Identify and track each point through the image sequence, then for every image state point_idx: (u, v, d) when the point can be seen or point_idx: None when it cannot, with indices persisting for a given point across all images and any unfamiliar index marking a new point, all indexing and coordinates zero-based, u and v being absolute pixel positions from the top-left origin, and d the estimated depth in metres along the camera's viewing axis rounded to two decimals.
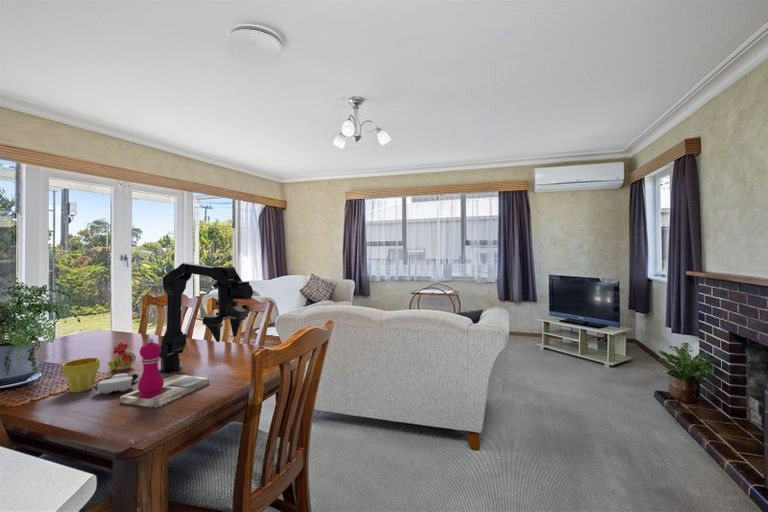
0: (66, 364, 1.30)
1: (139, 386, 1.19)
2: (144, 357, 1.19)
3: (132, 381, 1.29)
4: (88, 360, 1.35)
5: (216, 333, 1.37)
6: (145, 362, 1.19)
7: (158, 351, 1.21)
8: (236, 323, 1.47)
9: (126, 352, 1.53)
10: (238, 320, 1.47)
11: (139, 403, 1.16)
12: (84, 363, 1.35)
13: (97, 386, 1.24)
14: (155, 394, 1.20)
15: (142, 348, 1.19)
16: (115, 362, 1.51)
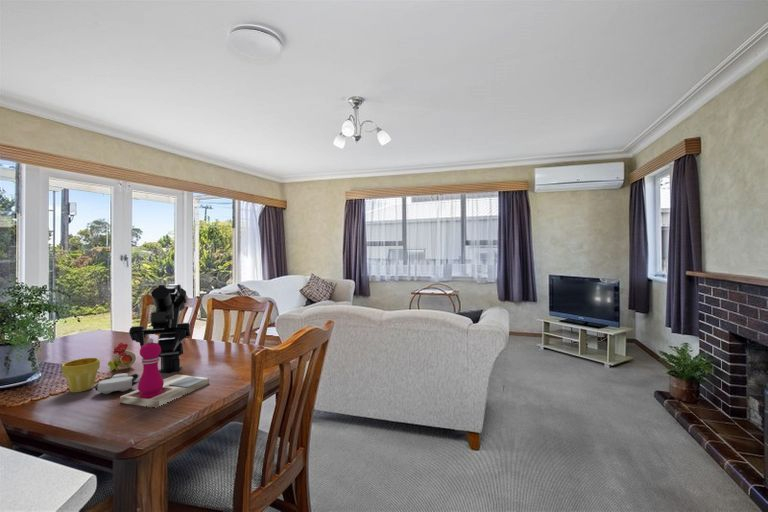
0: (66, 364, 1.30)
1: (139, 386, 1.19)
2: (144, 357, 1.19)
3: (132, 381, 1.29)
4: (88, 360, 1.35)
5: (140, 344, 1.29)
6: (145, 362, 1.19)
7: (158, 351, 1.21)
8: (175, 337, 1.34)
9: (126, 352, 1.53)
10: None
11: (139, 403, 1.16)
12: (84, 363, 1.35)
13: (97, 386, 1.24)
14: (155, 394, 1.20)
15: (142, 348, 1.19)
16: (115, 362, 1.51)
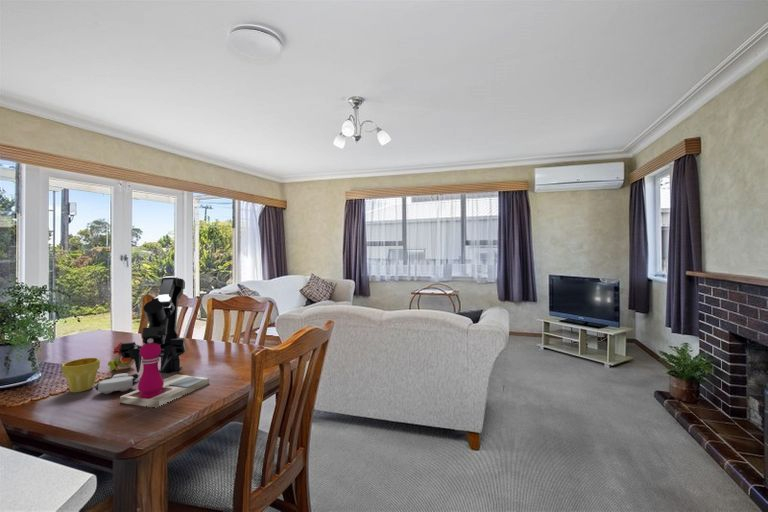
0: (66, 364, 1.30)
1: (139, 386, 1.19)
2: (144, 357, 1.19)
3: (133, 381, 1.29)
4: (88, 360, 1.35)
5: None
6: (145, 362, 1.19)
7: (158, 351, 1.21)
8: None
9: None
10: None
11: (139, 403, 1.16)
12: (84, 363, 1.35)
13: (98, 386, 1.24)
14: (155, 394, 1.20)
15: (142, 348, 1.19)
16: (115, 362, 1.51)
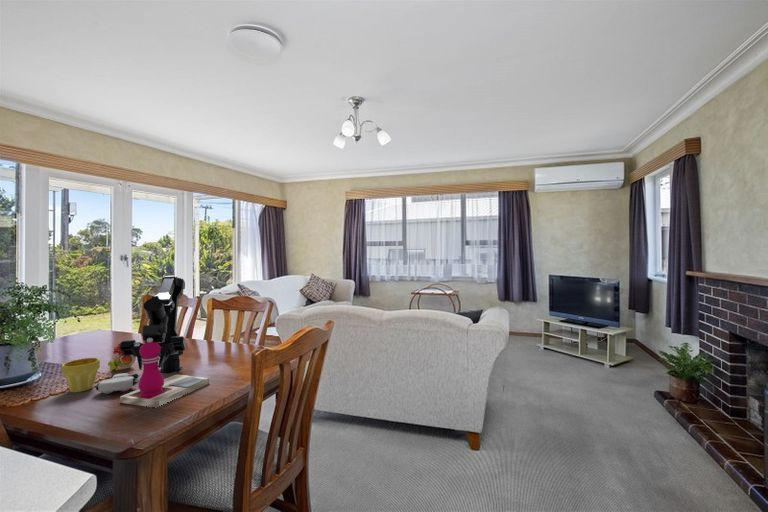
0: (66, 364, 1.30)
1: (140, 385, 1.19)
2: (144, 356, 1.19)
3: (133, 381, 1.29)
4: (88, 360, 1.35)
5: None
6: (145, 361, 1.19)
7: (158, 350, 1.21)
8: None
9: None
10: None
11: (139, 403, 1.16)
12: (84, 363, 1.35)
13: (98, 386, 1.24)
14: (156, 393, 1.21)
15: (142, 348, 1.19)
16: (115, 362, 1.51)
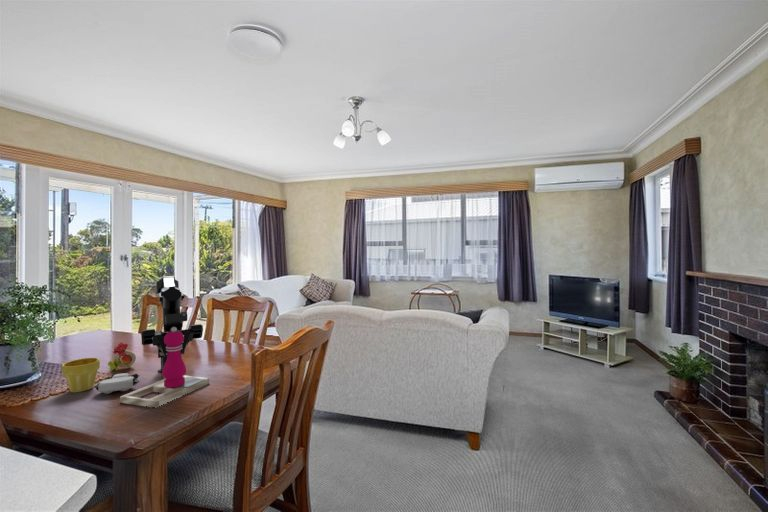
0: (66, 364, 1.30)
1: (165, 373, 1.24)
2: (170, 345, 1.24)
3: (133, 381, 1.29)
4: (88, 360, 1.35)
5: (160, 347, 1.25)
6: (171, 349, 1.24)
7: (183, 339, 1.27)
8: None
9: (126, 352, 1.53)
10: (183, 335, 1.30)
11: (139, 403, 1.16)
12: (84, 363, 1.35)
13: (98, 386, 1.24)
14: (180, 379, 1.26)
15: (168, 336, 1.24)
16: (115, 362, 1.51)
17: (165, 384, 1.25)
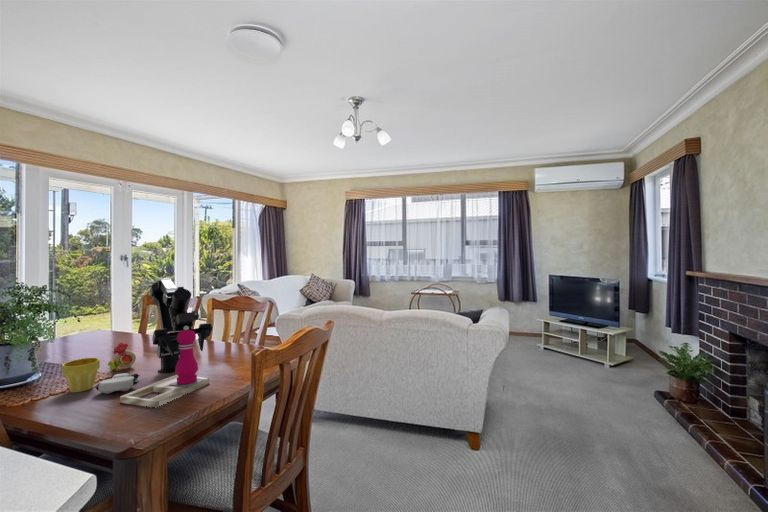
0: (66, 364, 1.30)
1: (179, 370, 1.27)
2: (184, 343, 1.28)
3: (134, 381, 1.29)
4: (88, 360, 1.35)
5: (167, 347, 1.27)
6: (185, 347, 1.28)
7: (195, 337, 1.31)
8: (200, 337, 1.35)
9: (126, 352, 1.53)
10: (200, 333, 1.35)
11: (139, 403, 1.16)
12: (84, 363, 1.35)
13: (99, 386, 1.24)
14: (194, 376, 1.30)
15: (181, 335, 1.28)
16: (115, 362, 1.51)
17: (179, 381, 1.28)
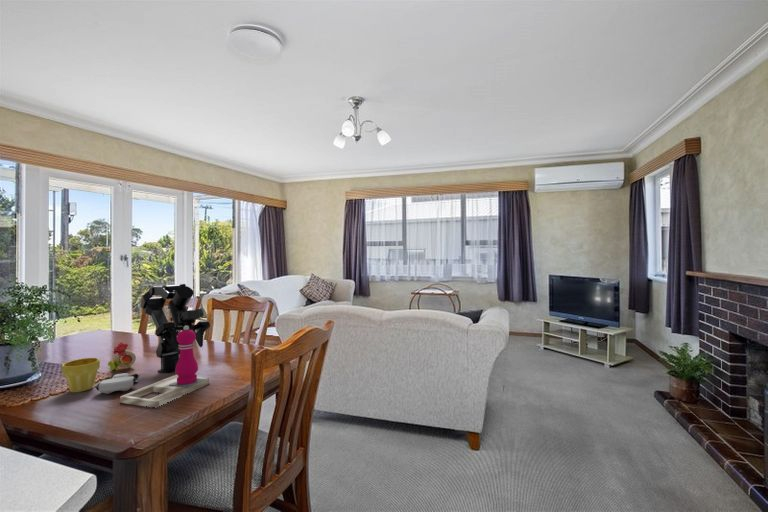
0: (66, 364, 1.30)
1: (179, 370, 1.27)
2: (184, 343, 1.28)
3: (134, 381, 1.29)
4: (88, 360, 1.35)
5: (173, 340, 1.34)
6: (185, 347, 1.28)
7: (195, 337, 1.31)
8: (199, 334, 1.44)
9: (126, 352, 1.53)
10: (200, 330, 1.44)
11: (139, 403, 1.16)
12: (84, 363, 1.35)
13: (99, 386, 1.24)
14: (194, 376, 1.30)
15: (181, 335, 1.28)
16: (115, 362, 1.51)
17: (179, 381, 1.28)
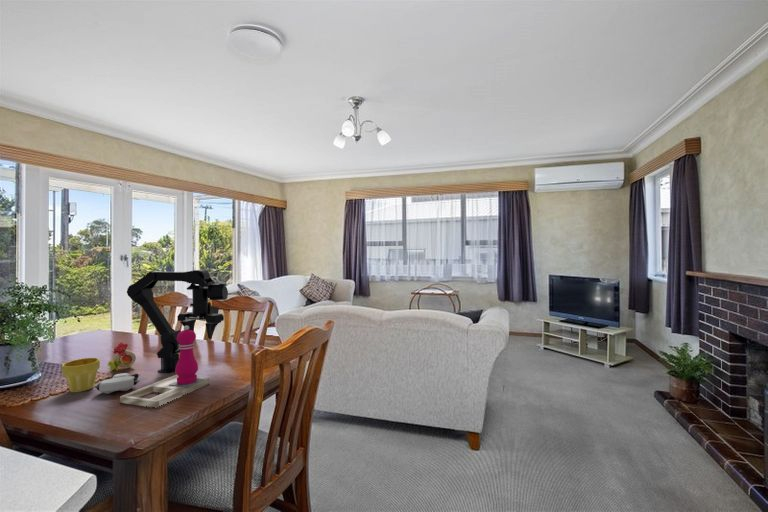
0: (66, 364, 1.30)
1: (180, 370, 1.27)
2: (184, 343, 1.28)
3: (134, 381, 1.29)
4: (88, 360, 1.35)
5: (212, 330, 1.50)
6: (185, 347, 1.29)
7: (195, 337, 1.31)
8: (192, 324, 1.53)
9: (126, 352, 1.53)
10: (193, 321, 1.54)
11: (139, 403, 1.16)
12: (84, 363, 1.35)
13: (99, 386, 1.24)
14: (194, 376, 1.30)
15: (182, 335, 1.28)
16: (115, 362, 1.51)
17: (179, 381, 1.28)
